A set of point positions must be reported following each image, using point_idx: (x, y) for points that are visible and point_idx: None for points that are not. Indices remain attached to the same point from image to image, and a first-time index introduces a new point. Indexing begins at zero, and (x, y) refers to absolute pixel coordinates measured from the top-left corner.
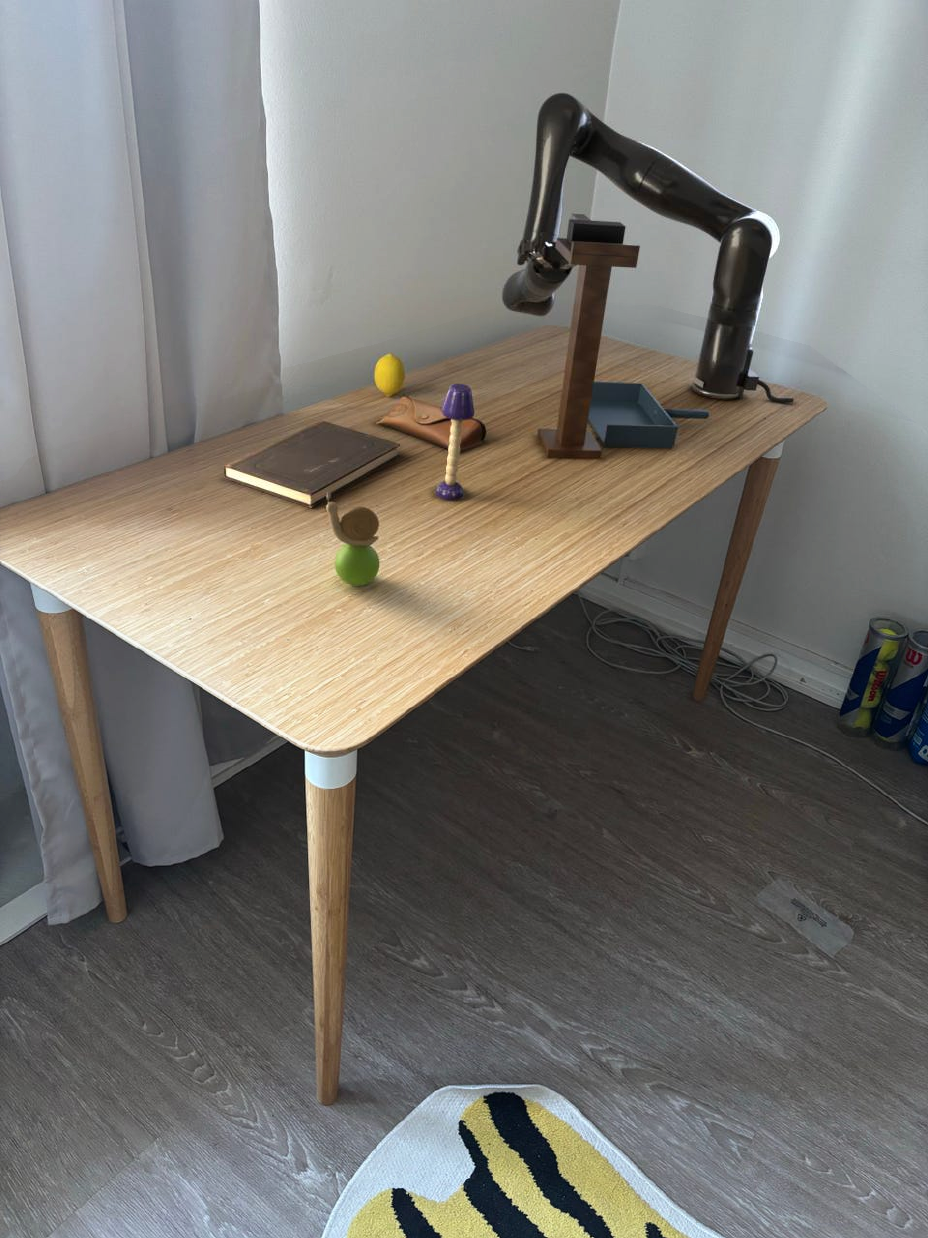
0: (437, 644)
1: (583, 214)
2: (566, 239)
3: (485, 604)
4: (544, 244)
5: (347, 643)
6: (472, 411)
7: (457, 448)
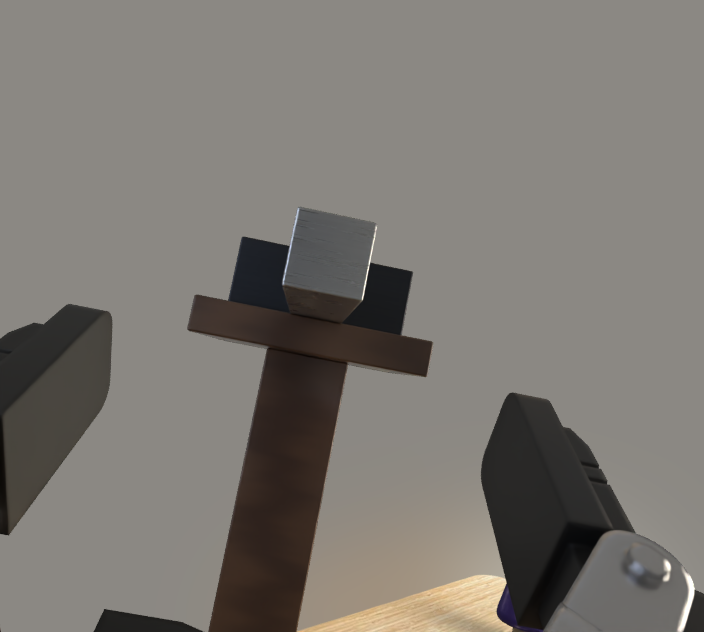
0: (451, 602)
1: (303, 209)
2: (401, 333)
3: (417, 620)
4: (489, 471)
5: None
6: (499, 601)
7: None
